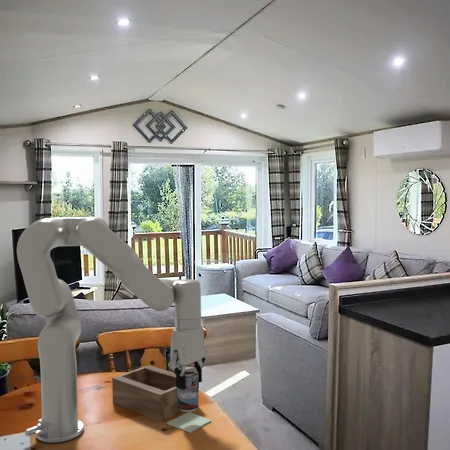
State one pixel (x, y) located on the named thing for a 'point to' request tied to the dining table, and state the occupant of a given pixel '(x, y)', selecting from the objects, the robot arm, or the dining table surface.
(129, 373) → the box
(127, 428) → the dining table surface
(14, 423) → the dining table surface
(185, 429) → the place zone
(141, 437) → the dining table surface
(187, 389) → the beverage can
